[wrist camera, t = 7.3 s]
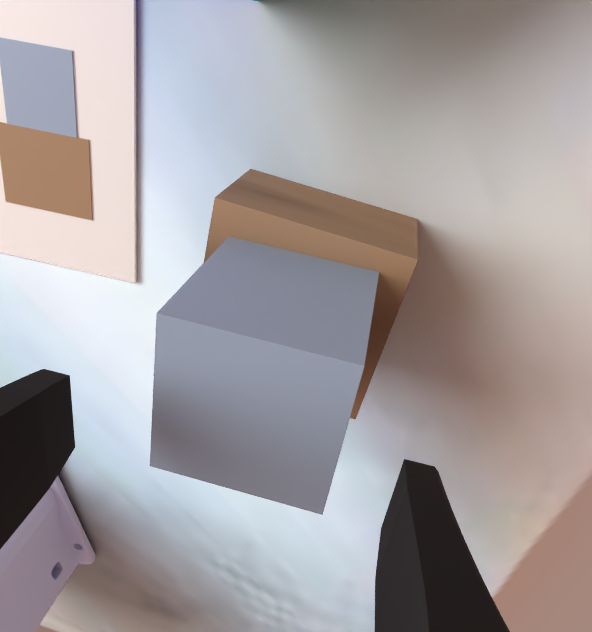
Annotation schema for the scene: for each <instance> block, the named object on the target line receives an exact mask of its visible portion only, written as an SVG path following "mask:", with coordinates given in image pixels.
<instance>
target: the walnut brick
mask: <svg viewBox="0 0 592 632" xmlns="http://www.w3.org/2000/svg"><path fill="white" fill-rule="evenodd" d="M229 236H230V237H234V238H238V239H242V240H246V241H251V242H255V243H259V244H263V245H268V246H272V247H276V248H280V249H284V250H289V251H293V252H297V253H301V254H306V255H310V256H314V257H318V258H322V259H327V260H331V261H335V262H339V263H344V264H348V265H352V266H356V267H360V268H365V269H369V270H373V271H377V272H379V276H378V283H377V289H376V295H375V302H374V308H373V314H372V321H371V327H370V333H369V340H368V346H367V353H366V359H365V365H364V369H363V373H362V376H361V380H360V383H359V387H358V390H357V394H356V397H355V401H354V405H353V408H352V412H351V415H350V418H353V419H356V416H357V414H358V411H359V409H360V406H361V404H362V401H363V399H364V396H365V394H366V391H367V388H368V386H369V383H370V381H371V378H372V376H373V373H374V371H375V368H376V366H377V363H378V360H379V358H380V355H381V353H382V350H383V348H384V345H385V343H386V340H387V338H388V335H389V332H390V330H391V327H392V325H393V322H394V320H395V317H396V315H397V312H398V310H399V307H400V304H401V302H402V299H403V297H404V294H405V292H406V289H407V287H408V284H409V282H410V279H411V276H412V274H413V271H414V269H415V266H416V264H417V261H418V222H417V219H415V218H412V217H408V216H405V215H402V214H398V213H395V212H392V211H388V210H385V209H382V208H379V207H375V206H372V205H369V204H365V203H362V202H359V201H355V200H352V199H349V198H345V197H342V196H339V195H335V194H332V193H329V192H326V191H322V190H319V189H316V188H312V187H309V186H306V185H302V184H299V183H296V182H292V181H289V180H286V179H282V178H279V177H276V176H273V175H269V174H266V173H263V172H259V171H256V170H253V169H250V170H249V171H247V172H246V173H245V174H244V175H242V176H241V177H240V178H239V179H237V180H236V181H235V182H234V183H232V184H231V185H230V186H229V187H227V188H226V189H225V190H224V191H222V192H221V193H220V194H219V195H218V196H216V197H215V200H214V206H213V212H212V218H211V224H210V230H209V236H208V241H207V247H206V253H205V259H204V262H205V261H206V260H207V259H208V258H209V257H210V256H211V255H212V254H213V253H214V252H215V251H216V250H217V248H218V247H219V246H220V245H221V244H222V243H223V242H224V241H225V240H226V239H227V238H228V237H229Z"/></svg>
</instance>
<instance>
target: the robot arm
mask: <svg viewBox="0 0 592 632" xmlns="http://www.w3.org/2000/svg"><path fill="white" fill-rule="evenodd" d="M74 448H75V440H74V427H73V414H72V401H71V388H70V375H66V374H62V373H58V372H54V371H50V370H46V369H42V370H39V371H37V372H35V373H32V374H30V375H28V376H25V377H23V378H21V379H19V380H16V381H14V382H12V383H10V384H8V385H6V386H3V387H1V388H0V632H35V631H36V629H37V628H38V626H39V625H40V623H41V621H42V620H43V618H44V617H45V615H46V614H47V612H48V610H49V609H50V607H51V606H52V604H53V603H54V601H55V599H56V598H57V596H58V595H59V593H60V592H61V590H62V589H63V587H64V585H65V584H66V582H67V581H68V579H69V578H70V576H71V574H72V573H73V571H74V570H75V568H76V567H77V565H78V564H81V565H90V564H92V563H93V561H94V559H95V557H96V556H95V553H94V551H93V549H92V547H91V545H90V543H89V540H88V538H87V536H86V534H85V532H84V530H83V528H82V525H81V523H80V521H79V519H78V517H77V515H76V513H75V511H74V508H73V506H72V504H71V502H70V500H69V498H68V496H67V493H66V491H65V489H64V487H63V485H62V483H61V481H60V479H59V476H58V474H59V473H60V471H61V470H62V468H63V466H64V465H65V463H66V461H67V460H68V458H69V456H70V455H71V453H72V451H73V450H74ZM375 632H510V631H509V630H508V628H507V626H506V624H505V622H504V620H503V618H502V617H501V615H500V612H499V611H498V609H497V607H496V605H495V603H494V601H493V599H492V597H491V595H490V593H489V591H488V589H487V587H486V585H485V583H484V581H483V579H482V577H481V575H480V573H479V571H478V568H477V566H476V564H475V562H474V560H473V557H472V555H471V553H470V551H469V549H468V546H467V544H466V542H465V540H464V537H463V535H462V533H461V530H460V528H459V526H458V523H457V521H456V518H455V516H454V513H453V511H452V508H451V506H450V503H449V500H448V498H447V495H446V492H445V489H444V487H443V484H442V481H441V478H440V475H439V472H438V471H437V469H436V468H435V467H434V466H430V465H426V464H422V463H418V462H414V461H410V460H406V459H404V462H403V465H402V468H401V471H400V474H399V477H398V480H397V483H396V486H395V489H394V492H393V495H392V498H391V501H390V504H389V507H388V510H387V513H386V516H385V519H384V522H383V525H382V528H381V535H380V543H379V551H378V560H377V569H376V578H375Z"/></svg>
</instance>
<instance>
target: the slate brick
mask: <svg viewBox="0 0 592 632" xmlns="http://www.w3.org/2000/svg"><path fill="white" fill-rule="evenodd" d="M378 276H379V272H377V271H373V270H369V269H365V268H360V267H356V266H352V265H348V264H344V263H339V262H335V261H331V260H327V259H322V258H318V257H314V256H310V255H306V254H301V253H297V252H293V251H289V250H284V249H280V248H276V247H272V246H268V245H263V244H259V243H255V242H251V241H246V240H242V239H238V238H234V237H230V236H229V237H228V238H227V239H226V240H225V241H224V242H223V243H222V244H221V245H220V246H219V247H218V248H217V250H216V251H215V252H214V253H213V254H212V255H211V256H210V257H209V258H208V259H207V260H206V261H205V262H204V263H203V264H202V266H201V267H200V268H199V269H198V270H197V271H196V272H195V273H194V274H193V275H192V276H191V277H190V278H189V279H188V280H187V282H186V283H185V284H184V285H183V286H182V287H181V288H180V289H179V290H178V291H177V292H176V293H175V294H174V295H173V296H172V298H171V299H170V300H169V301H168V302H167V303H166V304H165V305H164V306H163V307H162V308H161V309H160V310H159V311H158V313H157V320H156V342H155V364H154V387H153V409H152V431H151V453H150V466H152V467H156V468H159V469H163V470H166V471H170V472H173V473H177V474H180V475H184V476H187V477H191V478H195V479H198V480H202V481H205V482H209V483H212V484H216V485H219V486H223V487H226V488H230V489H233V490H237V491H240V492H244V493H248V494H251V495H255V496H258V497H262V498H265V499H269V500H272V501H276V502H279V503H283V504H286V505H290V506H294V507H297V508H301V509H304V510H308V511H311V512H315V513H318V514H323V511H324V507H325V504H326V500H327V497H328V493H329V490H330V486H331V482H332V479H333V475H334V472H335V468H336V465H337V461H338V458H339V454H340V451H341V447H342V443H343V440H344V436H345V433H346V429H347V426H348V422H349V419H350V415H351V412H352V408H353V405H354V401H355V397H356V394H357V390H358V387H359V383H360V380H361V376H362V373H363V369H364V365H365V359H366V353H367V346H368V340H369V333H370V327H371V321H372V314H373V308H374V302H375V295H376V289H377V283H378Z"/></svg>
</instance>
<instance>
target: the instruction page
mask: <svg viewBox="0 0 592 632" xmlns="http://www.w3.org/2000/svg"><path fill="white" fill-rule="evenodd" d="M0 253H5V254H9V255H14V256H18V257H22V258H27V259H31V260H36V261H40V262H44V263H49V264H53V265H58V266H62V267H66V268H71V269H75V270H80V271H84V272H88V273H93V274H97V275H101V276H106V277H110V278H115V279H119V280H123V281H128V282H132V283H135V282H137V249H136V0H0Z"/></svg>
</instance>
